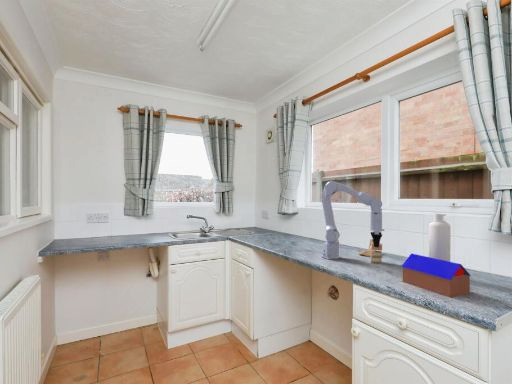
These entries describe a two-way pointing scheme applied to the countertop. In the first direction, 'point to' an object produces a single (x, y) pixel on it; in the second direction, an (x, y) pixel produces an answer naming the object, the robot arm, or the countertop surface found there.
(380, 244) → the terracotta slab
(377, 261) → the tower bottom
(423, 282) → the house
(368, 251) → the bone
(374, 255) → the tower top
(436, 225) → the bottle
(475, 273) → the countertop surface
